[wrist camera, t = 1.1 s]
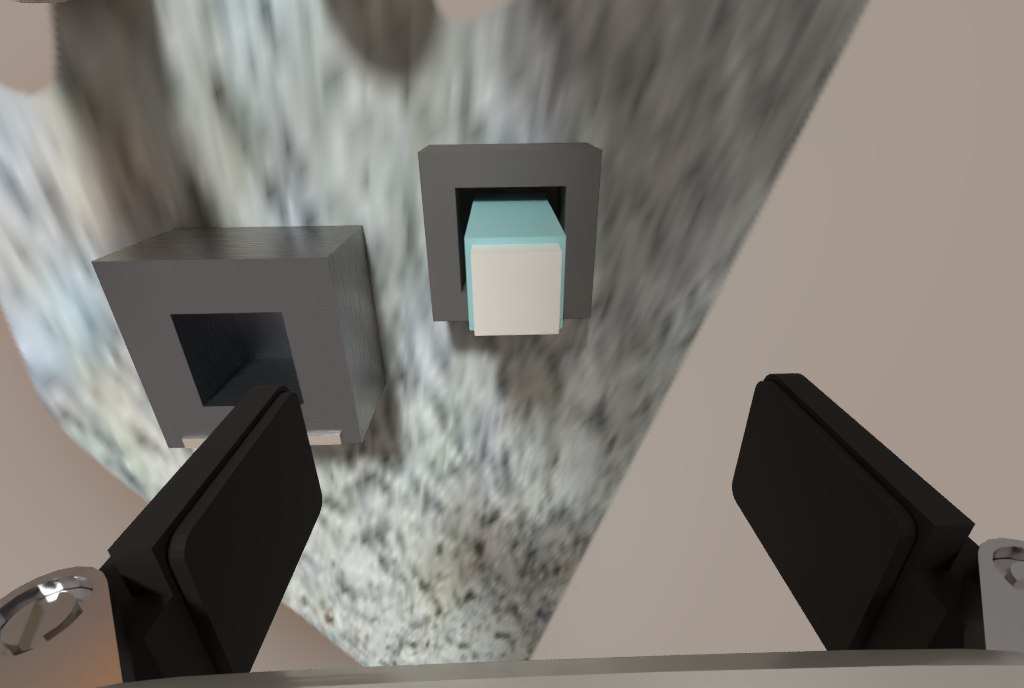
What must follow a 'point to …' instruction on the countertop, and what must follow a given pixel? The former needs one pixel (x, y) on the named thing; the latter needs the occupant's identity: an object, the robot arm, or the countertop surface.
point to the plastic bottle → (41, 1)
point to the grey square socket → (508, 169)
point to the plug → (514, 265)
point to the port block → (250, 325)
